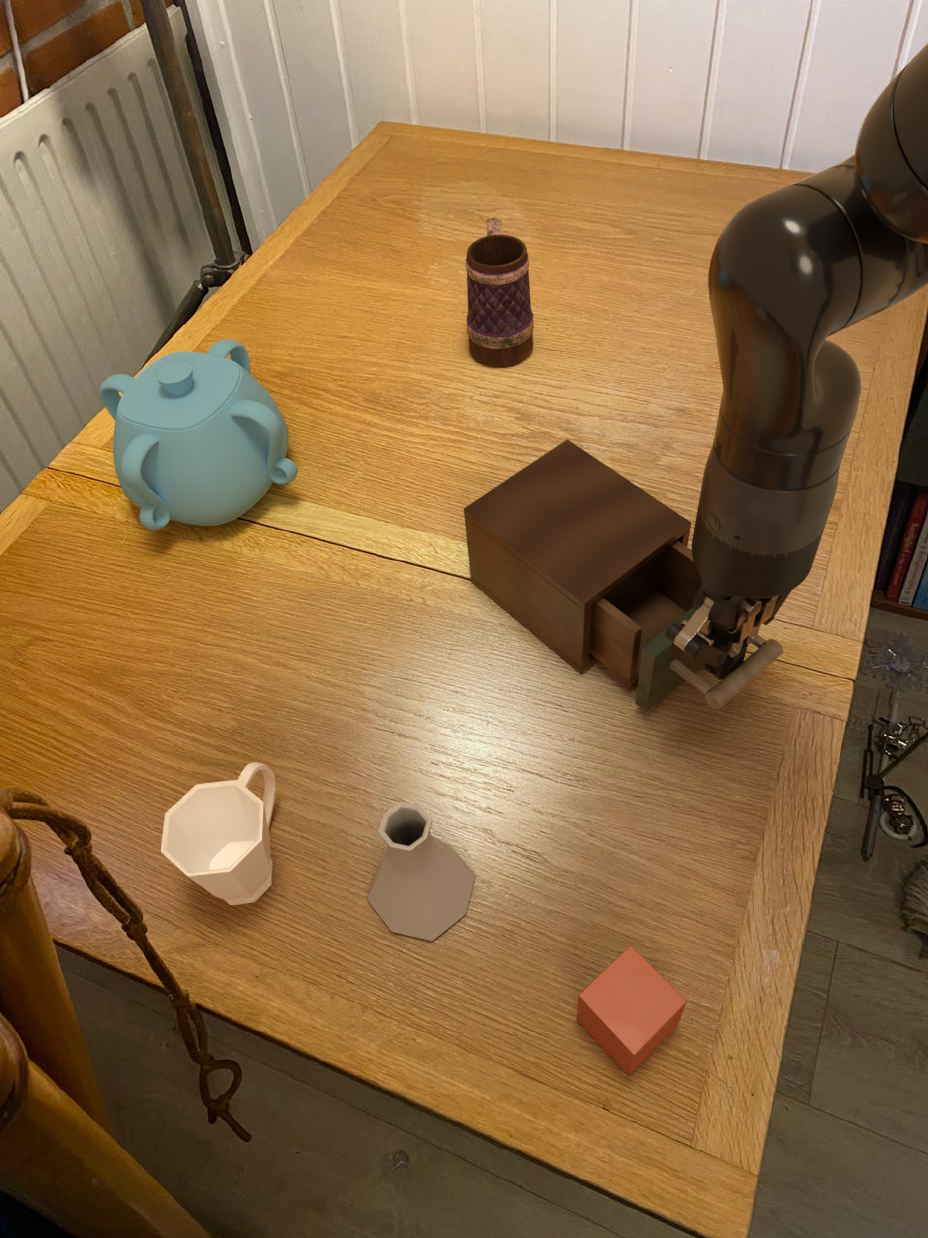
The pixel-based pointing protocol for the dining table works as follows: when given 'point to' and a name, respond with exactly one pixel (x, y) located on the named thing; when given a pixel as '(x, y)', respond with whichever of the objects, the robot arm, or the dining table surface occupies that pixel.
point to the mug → (498, 298)
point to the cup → (224, 836)
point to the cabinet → (564, 544)
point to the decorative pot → (196, 437)
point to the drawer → (662, 632)
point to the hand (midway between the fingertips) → (722, 669)
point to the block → (629, 1009)
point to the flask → (418, 876)
